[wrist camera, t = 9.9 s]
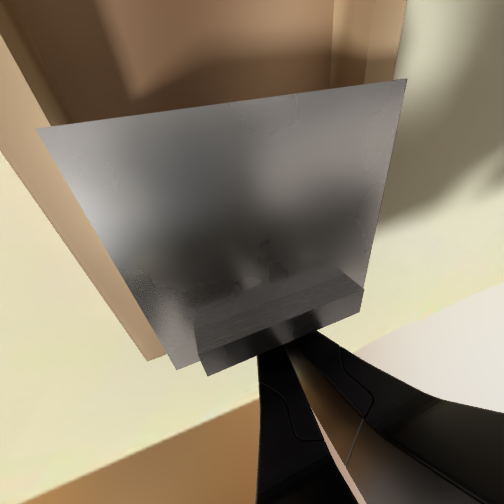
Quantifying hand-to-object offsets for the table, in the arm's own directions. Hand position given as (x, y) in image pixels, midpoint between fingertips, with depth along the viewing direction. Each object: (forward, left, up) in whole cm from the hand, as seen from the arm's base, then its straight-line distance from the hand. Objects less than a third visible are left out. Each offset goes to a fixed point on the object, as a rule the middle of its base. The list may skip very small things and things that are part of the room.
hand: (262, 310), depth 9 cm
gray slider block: (0, -4, -1) cm, 5 cm away
